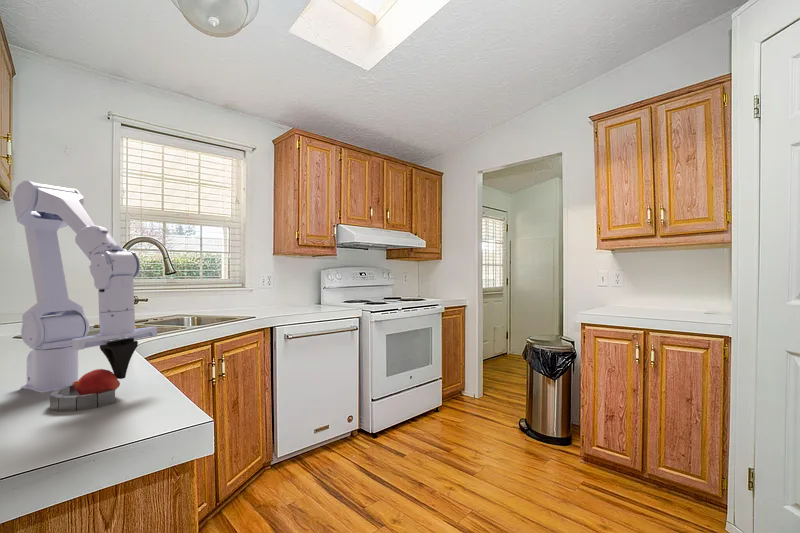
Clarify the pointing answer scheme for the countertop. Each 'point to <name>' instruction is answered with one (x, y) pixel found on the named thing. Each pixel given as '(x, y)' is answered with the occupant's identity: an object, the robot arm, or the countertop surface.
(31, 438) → the countertop surface
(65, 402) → the split collar
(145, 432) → the countertop surface
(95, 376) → the onion
